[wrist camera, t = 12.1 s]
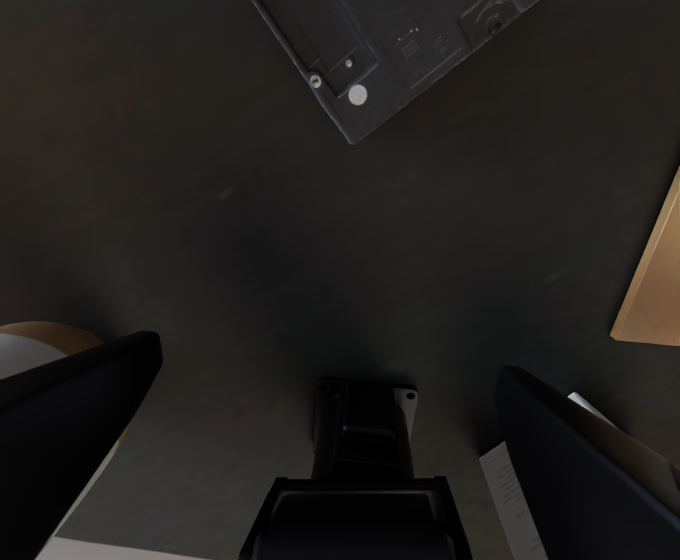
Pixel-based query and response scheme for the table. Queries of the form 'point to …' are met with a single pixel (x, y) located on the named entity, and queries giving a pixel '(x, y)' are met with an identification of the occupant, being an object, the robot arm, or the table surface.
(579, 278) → the table surface
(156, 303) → the table surface
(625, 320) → the cork mat
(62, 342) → the vase
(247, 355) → the table surface
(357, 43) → the disk drive
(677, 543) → the robot arm
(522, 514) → the small box
